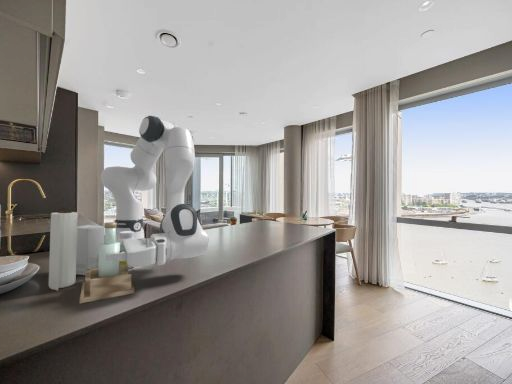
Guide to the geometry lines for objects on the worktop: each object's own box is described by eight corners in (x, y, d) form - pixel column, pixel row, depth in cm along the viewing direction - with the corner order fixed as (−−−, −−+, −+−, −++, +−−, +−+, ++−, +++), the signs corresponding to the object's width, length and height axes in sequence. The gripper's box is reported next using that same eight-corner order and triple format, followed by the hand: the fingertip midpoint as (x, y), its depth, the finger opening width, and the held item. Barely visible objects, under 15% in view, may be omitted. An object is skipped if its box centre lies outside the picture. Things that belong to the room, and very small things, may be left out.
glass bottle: (93, 287, 64) (96, 222, 64) (111, 281, 69) (113, 221, 69) (104, 291, 62) (107, 224, 62) (122, 284, 66) (124, 222, 67)
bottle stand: (129, 278, 73) (130, 263, 73) (134, 293, 64) (134, 274, 64) (82, 286, 67) (83, 269, 67) (79, 303, 57) (80, 283, 57)
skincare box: (104, 270, 80) (106, 225, 80) (86, 276, 74) (87, 228, 74) (86, 267, 83) (88, 224, 83) (67, 273, 76) (68, 226, 76)
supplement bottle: (138, 267, 85) (139, 232, 85) (118, 271, 80) (119, 234, 80) (132, 263, 89) (133, 230, 90) (112, 266, 85) (114, 231, 85)
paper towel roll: (62, 280, 71) (65, 210, 71) (80, 281, 70) (83, 211, 70) (38, 290, 63) (40, 212, 64) (58, 291, 63) (60, 213, 63)
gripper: (151, 232, 81) (105, 235, 73) (165, 244, 64) (106, 249, 56) (151, 250, 81) (104, 255, 73) (164, 266, 64) (105, 275, 56)
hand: (105, 253), depth 65 cm, fingers open, 8 cm apart
